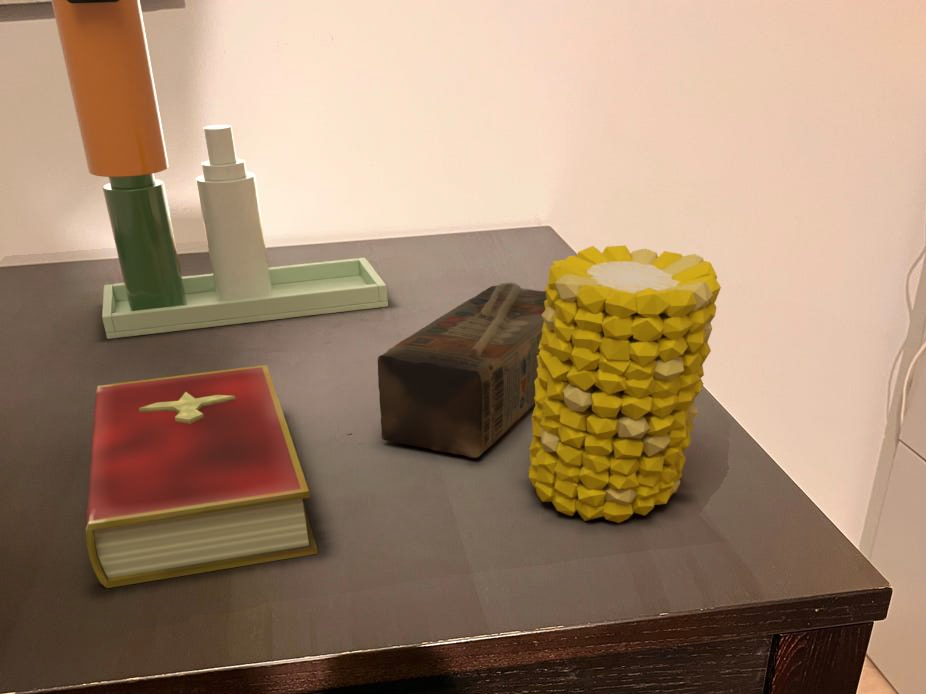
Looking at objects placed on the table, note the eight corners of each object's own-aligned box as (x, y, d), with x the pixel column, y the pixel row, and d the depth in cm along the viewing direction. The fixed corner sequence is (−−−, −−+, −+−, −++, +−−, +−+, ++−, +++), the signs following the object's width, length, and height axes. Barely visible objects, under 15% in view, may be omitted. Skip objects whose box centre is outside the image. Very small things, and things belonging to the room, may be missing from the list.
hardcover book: (98, 589, 55) (78, 520, 52) (105, 439, 72) (90, 382, 69) (317, 553, 57) (308, 486, 55) (275, 416, 74) (266, 360, 72)
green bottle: (121, 311, 95) (80, 135, 86) (170, 298, 98) (135, 127, 89) (148, 322, 92) (109, 141, 83) (198, 309, 95) (165, 132, 86)
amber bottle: (75, 169, 68) (12, -106, 60) (144, 158, 71) (95, -106, 62) (112, 180, 65) (52, -109, 56) (183, 168, 68) (136, -108, 59)
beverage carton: (581, 368, 80) (584, 283, 77) (482, 466, 66) (479, 368, 62) (490, 356, 83) (488, 274, 79) (376, 448, 69) (367, 353, 65)
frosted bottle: (207, 301, 97) (175, 128, 88) (253, 289, 100) (226, 120, 91) (237, 312, 94) (207, 133, 85) (283, 299, 96) (259, 125, 88)
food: (574, 471, 69) (706, 518, 64) (467, 499, 60) (611, 557, 55) (622, 233, 62) (773, 265, 57) (510, 226, 53) (678, 263, 48)
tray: (107, 339, 90) (101, 316, 89) (108, 305, 98) (103, 284, 97) (388, 306, 95) (386, 285, 94) (366, 277, 104) (365, 257, 103)
